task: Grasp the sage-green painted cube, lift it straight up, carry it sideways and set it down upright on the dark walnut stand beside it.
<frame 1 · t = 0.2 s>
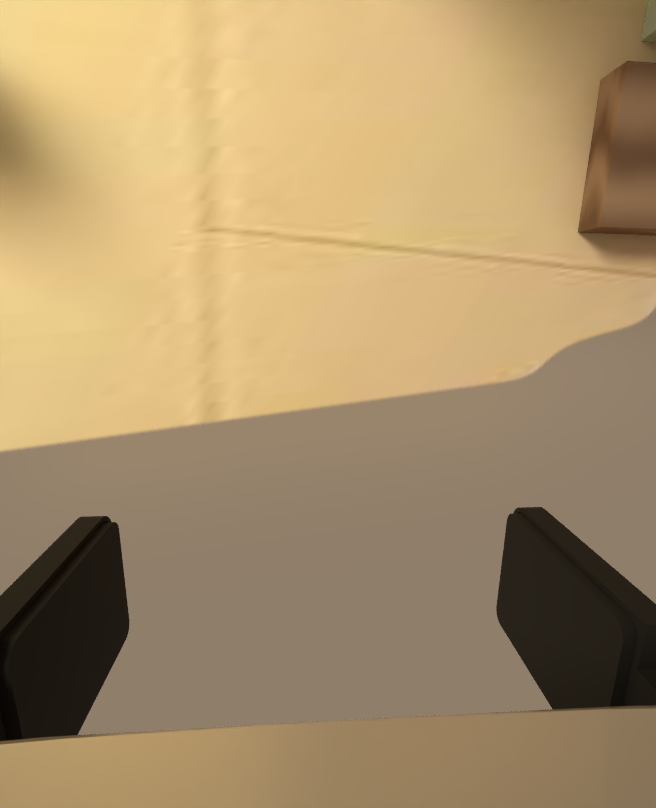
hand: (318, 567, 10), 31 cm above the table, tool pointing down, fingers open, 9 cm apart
walnut stand: (653, 162, 38), on the table
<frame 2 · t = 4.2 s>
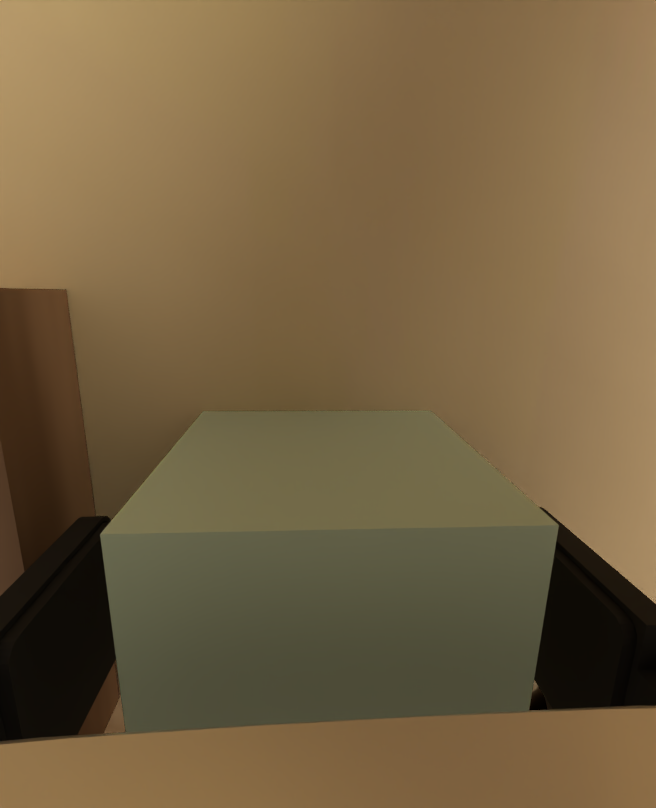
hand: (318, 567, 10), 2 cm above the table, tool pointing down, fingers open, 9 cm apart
sage cube: (317, 512, 12), on the table
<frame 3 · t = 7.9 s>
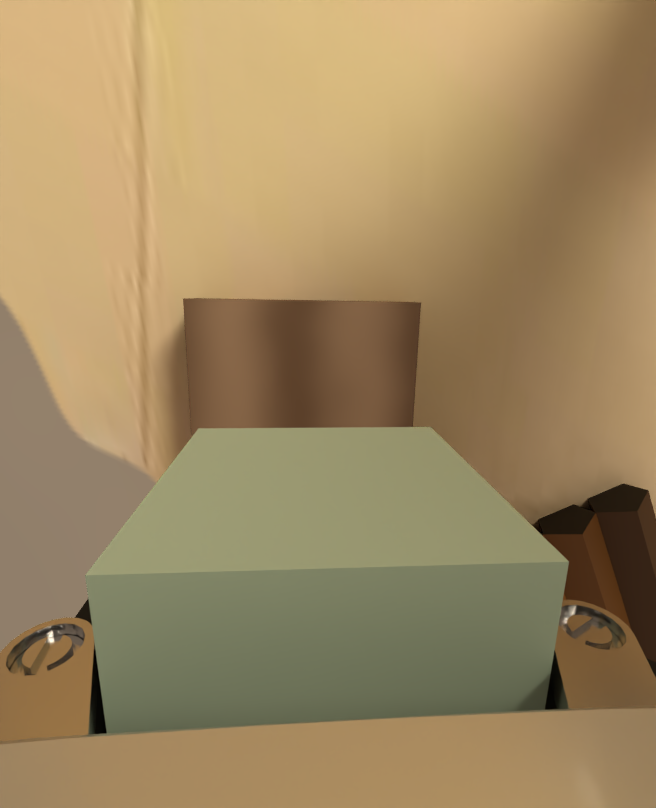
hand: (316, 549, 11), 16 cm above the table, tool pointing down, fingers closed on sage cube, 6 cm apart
sage cube: (315, 532, 12), point 15 cm above the table, touching gripper
pan flute: (508, 677, 33), on the table
walnut stand: (303, 402, 26), on the table
when the fingers open (5 cm above the table, at t = 10.8 s): sage cube stays where it is, resting on walnut stand.
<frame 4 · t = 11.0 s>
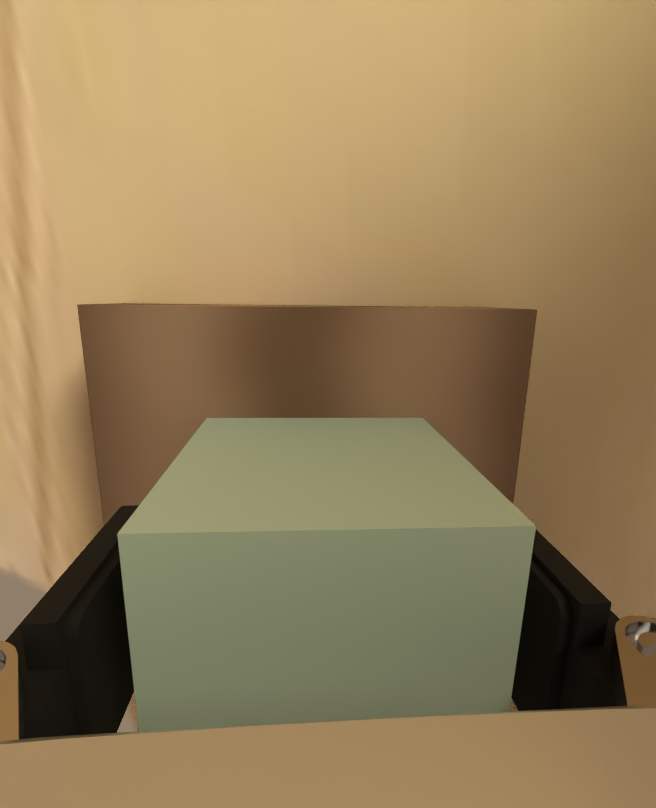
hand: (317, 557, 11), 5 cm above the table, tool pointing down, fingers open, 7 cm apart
sage cube: (315, 516, 13), point 3 cm above the table, touching walnut stand
walnut stand: (311, 475, 16), on the table
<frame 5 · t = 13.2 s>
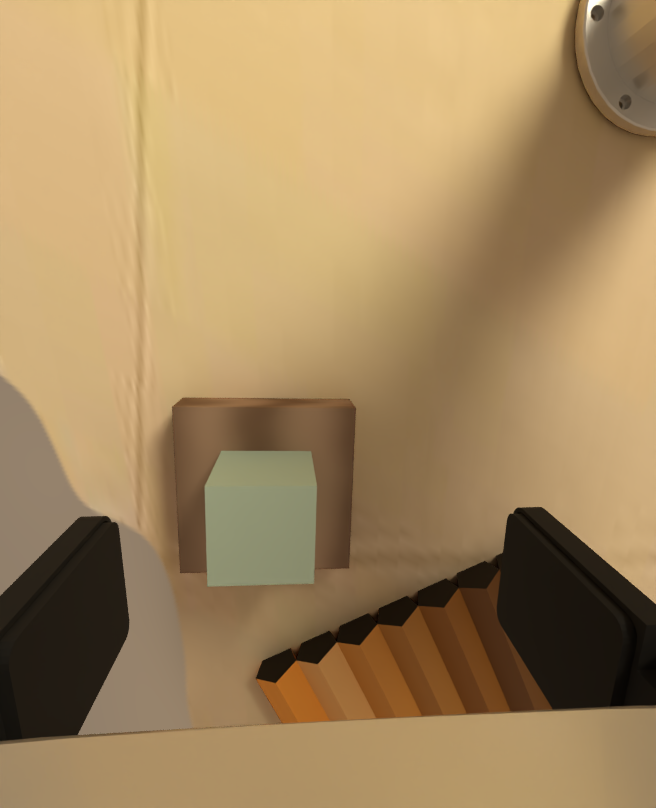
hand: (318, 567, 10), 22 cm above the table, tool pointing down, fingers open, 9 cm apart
sage cube: (266, 492, 30), point 3 cm above the table, touching walnut stand
pan flute: (441, 703, 40), on the table
walnut stand: (267, 476, 33), on the table
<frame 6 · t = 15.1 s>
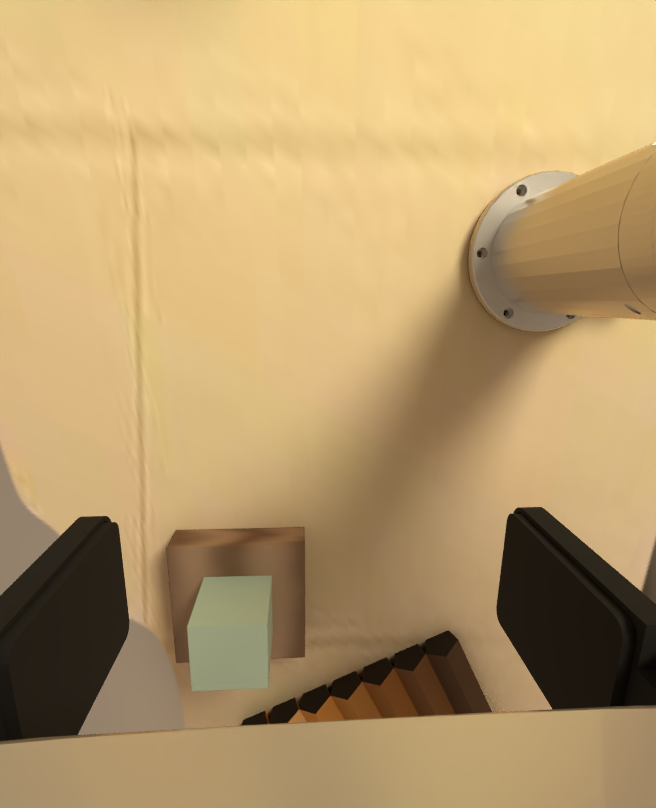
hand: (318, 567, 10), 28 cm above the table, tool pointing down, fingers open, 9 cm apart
sage cube: (239, 605, 39), point 3 cm above the table, touching walnut stand
pan flute: (388, 749, 49), on the table
walnut stand: (242, 584, 42), on the table
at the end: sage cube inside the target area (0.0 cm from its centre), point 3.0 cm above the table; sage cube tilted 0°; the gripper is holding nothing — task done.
